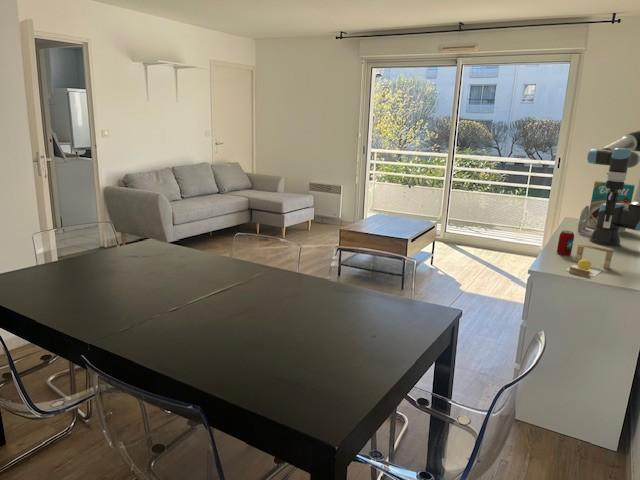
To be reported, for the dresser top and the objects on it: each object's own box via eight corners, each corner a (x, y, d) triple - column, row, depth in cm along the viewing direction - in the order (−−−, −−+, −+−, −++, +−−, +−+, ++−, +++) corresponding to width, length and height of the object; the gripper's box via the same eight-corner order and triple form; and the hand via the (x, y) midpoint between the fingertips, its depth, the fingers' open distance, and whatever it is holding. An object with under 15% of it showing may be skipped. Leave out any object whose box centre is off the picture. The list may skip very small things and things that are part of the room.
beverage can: (570, 256, 246) (574, 234, 243) (555, 254, 250) (559, 231, 246) (571, 254, 252) (575, 231, 249) (557, 251, 255) (561, 229, 252)
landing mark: (573, 265, 232) (573, 264, 232) (601, 271, 225) (601, 271, 225) (565, 270, 224) (565, 269, 224) (594, 277, 216) (594, 276, 216)
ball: (575, 271, 225) (579, 264, 228) (588, 274, 222) (592, 267, 225) (575, 262, 222) (580, 255, 226) (589, 265, 219) (593, 258, 222)
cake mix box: (586, 227, 318) (594, 181, 310) (586, 225, 323) (595, 180, 315) (624, 232, 307) (634, 185, 299) (624, 230, 312) (634, 184, 304)
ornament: (585, 228, 313) (590, 203, 309) (608, 233, 304) (614, 207, 300) (575, 234, 297) (580, 207, 293) (599, 238, 289) (604, 211, 284)
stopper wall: (569, 271, 222) (570, 266, 221) (589, 276, 217) (590, 270, 216) (568, 272, 221) (569, 267, 220) (588, 277, 216) (589, 271, 215)
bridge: (576, 260, 240) (580, 242, 238) (609, 267, 231) (613, 249, 229) (574, 261, 238) (578, 243, 236) (607, 269, 229) (611, 250, 226)
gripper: (610, 178, 242) (601, 224, 248) (603, 180, 232) (594, 228, 239) (627, 180, 237) (617, 227, 243) (621, 182, 228) (611, 231, 234)
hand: (606, 227), depth 241 cm, fingers closed
